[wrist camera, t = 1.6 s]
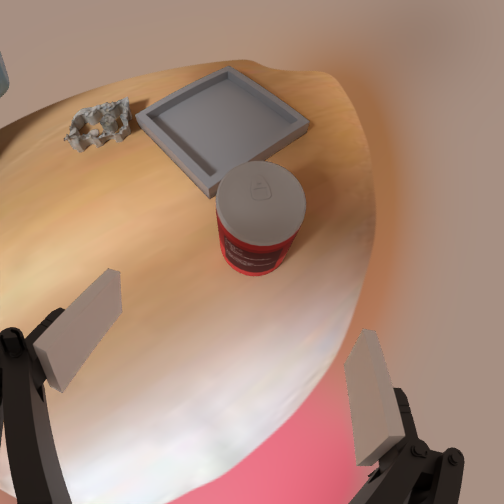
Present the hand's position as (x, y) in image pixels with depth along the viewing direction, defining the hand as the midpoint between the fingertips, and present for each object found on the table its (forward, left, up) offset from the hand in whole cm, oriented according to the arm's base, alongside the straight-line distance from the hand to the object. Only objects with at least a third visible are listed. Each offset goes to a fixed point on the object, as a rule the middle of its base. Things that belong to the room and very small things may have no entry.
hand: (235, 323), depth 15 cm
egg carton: (-37, +4, -18) cm, 41 cm away
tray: (-24, +18, -17) cm, 34 cm away
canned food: (-7, +9, -17) cm, 20 cm away
